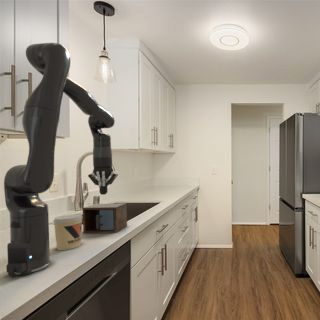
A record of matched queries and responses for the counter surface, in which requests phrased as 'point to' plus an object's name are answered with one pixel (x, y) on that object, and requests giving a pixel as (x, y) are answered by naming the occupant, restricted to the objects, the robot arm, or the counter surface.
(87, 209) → the cupboard
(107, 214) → the sliding lid with handle
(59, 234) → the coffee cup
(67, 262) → the counter surface
